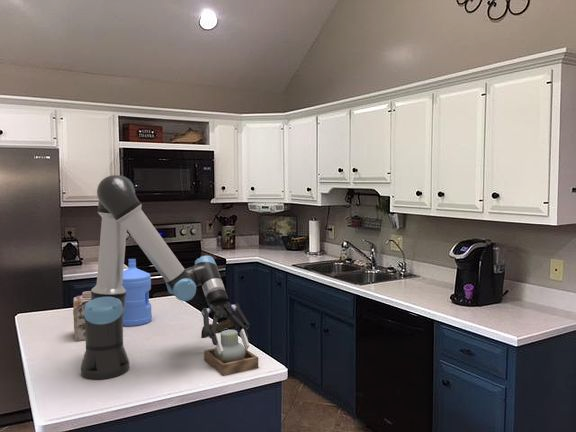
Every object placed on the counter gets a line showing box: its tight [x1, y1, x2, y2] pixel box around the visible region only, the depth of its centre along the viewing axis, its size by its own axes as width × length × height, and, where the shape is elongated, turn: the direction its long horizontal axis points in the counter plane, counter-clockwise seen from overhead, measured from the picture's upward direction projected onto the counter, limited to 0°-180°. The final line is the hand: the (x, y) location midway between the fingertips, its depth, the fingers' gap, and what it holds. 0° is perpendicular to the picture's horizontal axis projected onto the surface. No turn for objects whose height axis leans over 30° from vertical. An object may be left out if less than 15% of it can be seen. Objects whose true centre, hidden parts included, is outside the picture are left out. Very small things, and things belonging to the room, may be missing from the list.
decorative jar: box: [72, 290, 92, 342], centre depth 200 cm, size 12×12×18 cm
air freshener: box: [214, 329, 245, 363], centre depth 169 cm, size 11×8×10 cm
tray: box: [203, 347, 259, 377], centre depth 170 cm, size 13×16×4 cm
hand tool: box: [200, 318, 236, 338], centre depth 206 cm, size 19×4×5 cm, turn 144°
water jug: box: [122, 258, 153, 327], centre depth 220 cm, size 16×16×28 cm
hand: (234, 350), depth 167 cm, fingers open, 9 cm apart
